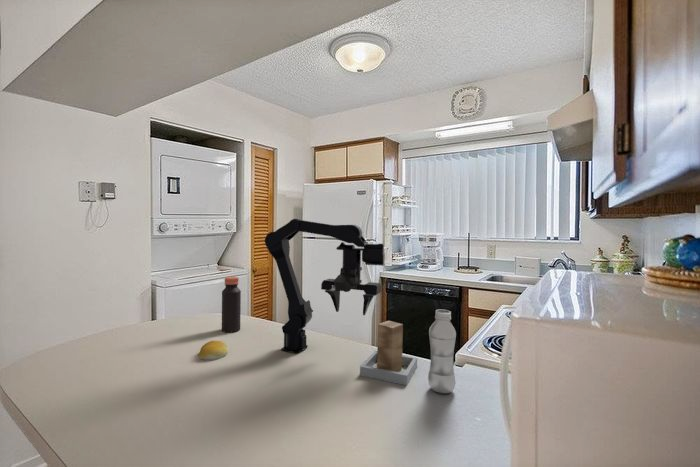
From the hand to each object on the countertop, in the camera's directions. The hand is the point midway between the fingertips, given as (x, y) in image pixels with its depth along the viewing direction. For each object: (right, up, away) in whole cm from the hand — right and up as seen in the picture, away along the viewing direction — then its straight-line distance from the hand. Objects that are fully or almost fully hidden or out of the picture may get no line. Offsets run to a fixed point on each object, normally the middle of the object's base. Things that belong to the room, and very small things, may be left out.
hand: (350, 313), depth 107 cm
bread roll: (-43, -13, -2) cm, 45 cm away
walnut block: (+11, -13, -11) cm, 21 cm away
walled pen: (+11, -14, -11) cm, 21 cm away
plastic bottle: (+23, -14, -22) cm, 35 cm away
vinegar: (-46, -12, +22) cm, 52 cm away
